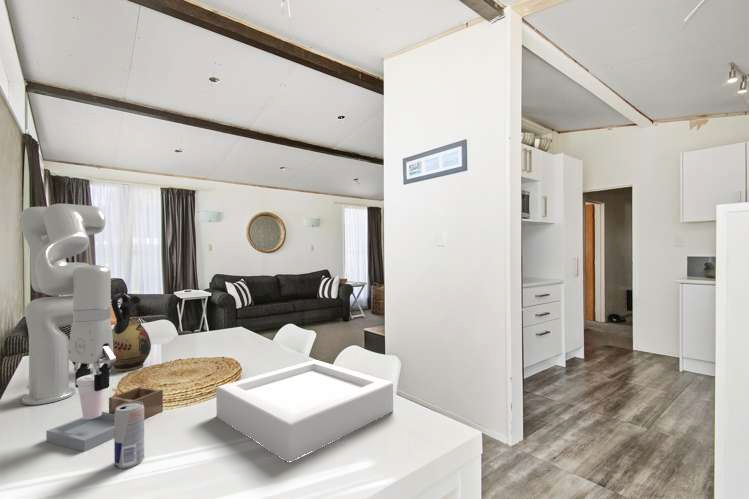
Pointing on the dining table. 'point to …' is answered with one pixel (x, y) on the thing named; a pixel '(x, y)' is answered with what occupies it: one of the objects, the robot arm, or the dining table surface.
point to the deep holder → (140, 400)
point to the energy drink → (128, 435)
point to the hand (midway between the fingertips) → (92, 387)
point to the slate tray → (83, 432)
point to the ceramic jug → (128, 335)
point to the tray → (303, 406)
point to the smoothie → (90, 397)
